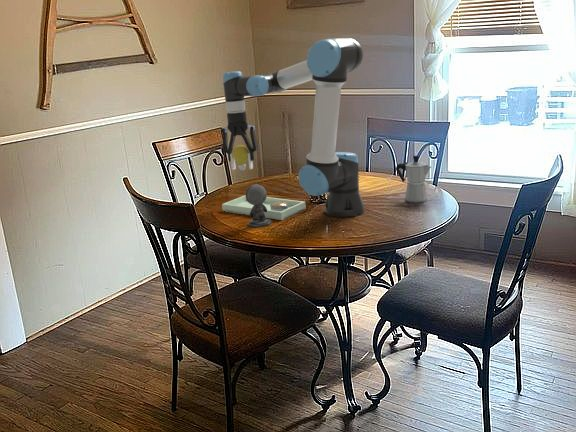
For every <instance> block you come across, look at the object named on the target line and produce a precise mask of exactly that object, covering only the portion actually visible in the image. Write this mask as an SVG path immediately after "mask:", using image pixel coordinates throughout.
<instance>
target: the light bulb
mask: <svg viewBox="0 0 576 432" xmlns="http://www.w3.org/2000/svg"><path fill="white" fill-rule="evenodd" d="M232 151H233V152H232V155H233V157H234V159H235V162H237V164H238V165H237V168H238V169H239V171H245V170H246V168H247V164H246V163H247V160H248V153H249V150H248V148H247V146H246V145H244V144H238V145H236V146H234V147H233V150H232Z"/></svg>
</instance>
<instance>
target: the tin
mask: <svg viewBox="0 0 576 432" xmlns="http://www.w3.org/2000/svg"><path fill="white" fill-rule="evenodd" d="M270 208H271V210H273V211H283V210H286V209H288V203H286V202H274V203H272V204H271V205H270Z"/></svg>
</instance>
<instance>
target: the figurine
mask: <svg viewBox="0 0 576 432" xmlns="http://www.w3.org/2000/svg"><path fill="white" fill-rule="evenodd" d="M266 190H267V189H266V188H265V187H264V186H263V185H262V184H258V183H256V184H251V185H249V186H248V187H247V188H246V191H245V195H246V200H247V201H248V203H250V204H252V205H254V206H253V207H252V209H251V212H250V215H249V218H252V219H250V220H249V221H248V222H247V225H246V227H250V228H255V229H259V228H263V227H269V226H271V224H272V222H273V221H272V220H271V218H265V213H264V212H267V208H266V207H265V206H264V205H263V204H262V203H263V202H264V201H265V200H266V197H268V195H267V191H266Z"/></svg>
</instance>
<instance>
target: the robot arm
mask: <svg viewBox="0 0 576 432" xmlns="http://www.w3.org/2000/svg"><path fill="white" fill-rule="evenodd" d="M363 60H364V51H363V48H362V46H361V44H360V43H359V42H358V41H356V39H354V38H351V37H342V38H341V37H340V38H324V39H321V40H318V41H316V42H314V43H313V44H312V45H311V46H310V48H309V50H308V52H307V56H306V59H305V60H303V61H301V62H298V63H295V64H293V65H291V66H288V67H285V68H282V69H280V70H279V69H278V70H276V71H274V72H271V73H264V74H255V75H246V76H243V73H242V72H241V71H228V72H223V74H222V85H223V92H224V99H225V100H224V101H225V109H226V113H227V114H226V117H227V126H226V127H222V128H220V129H221V130H220V131H221V134H222V153H226V154H227V157H228V162H230V164H231V170H232V171H234V170H236V167H237V166H236V160H235V159H234V157H233V155H232V152H233V149H234V147H235V145H234V144H235V141H236V137H237V136H241V138H242V139H243V141H244V143H245V147H247V149H248V151H249V153H248V158H247V160H248V169H249V170H253V169H254V163H253V161H254V160H255V152H256V151H258V150H259V148H258V147H259V146H258V142H257V138H256V131H255V130H256V129H255V128H256V126H255V125H249V124H248V120H247V112H246V101H245V97H261V96H264V95H268V94H274V93H281V92H285V91H286V90H287V89H290V88H293V87H295V86H299V85H301V84H305V83H307V82H311V81H313V82H314V84H315V97H314V108H313V119H312V120H313V122H312V132H311V133H312V135H311V147H310V148H311V149H310V152H309V153H308V154H306V157H305V158H306V159H305V165H303V166H302V167H301V168H300V170H299V172H298V181H299V184H300V187H301V188H302V189H303V191H304V192H305V193H306V194H308V195H310V196H313V197H317V196H324V195H326V194H327V193H328V194H327V197H326V200H325V205H324V213H325V214H326V215H328V216H330V217H335V218H336V217H338V218H345V217H346V218H347V217H348V218H349V217H355V216H359V215H362V214H363V213H365V205H364V202H363V199H362V196H361V194H360V188H359V187H360V186H359V185H360V182H359V181H360V179H359V164H360V163H359V158H358V155H357V154H356V153H355V152H349V151H343V152H342V151H336V147H337V137H338V136H337V135H338V125H339V118H340V117H339V116H340V115H339V113H340V104H341V95H342V87H343V85H345V84H346V83H347V79H348V73H351V72H354V71H356V70H357V69H358V68H359V67H360V66H361V64H362V62H363ZM247 130H248V131H249V134H250V138H249V137H248V133H247ZM228 132H230V139H229V141H228V138H229V137H228V135H229V134H228ZM250 139H251V141H250ZM228 142H229V143H228Z"/></svg>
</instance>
